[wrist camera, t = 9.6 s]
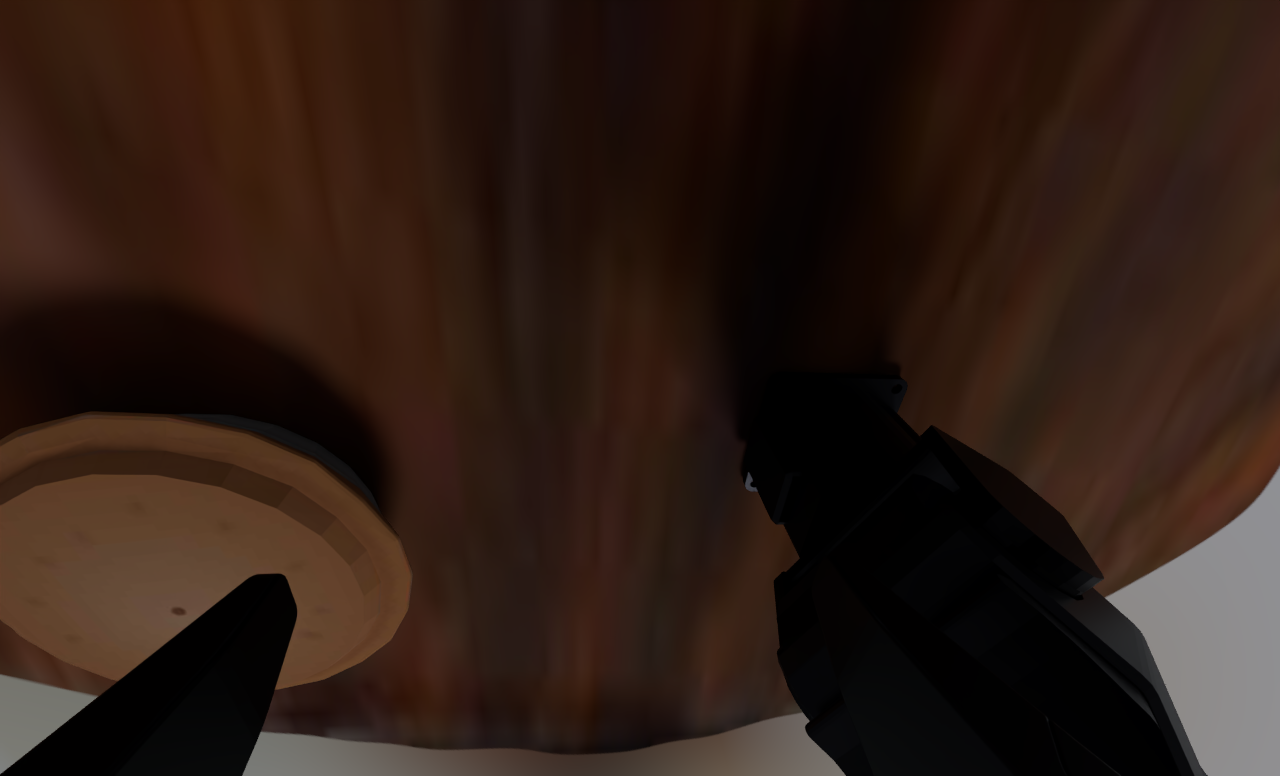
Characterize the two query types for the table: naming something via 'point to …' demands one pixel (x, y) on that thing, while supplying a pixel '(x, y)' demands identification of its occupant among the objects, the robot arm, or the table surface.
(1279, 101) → the table surface
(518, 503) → the table surface
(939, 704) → the robot arm
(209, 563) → the pie
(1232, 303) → the table surface
